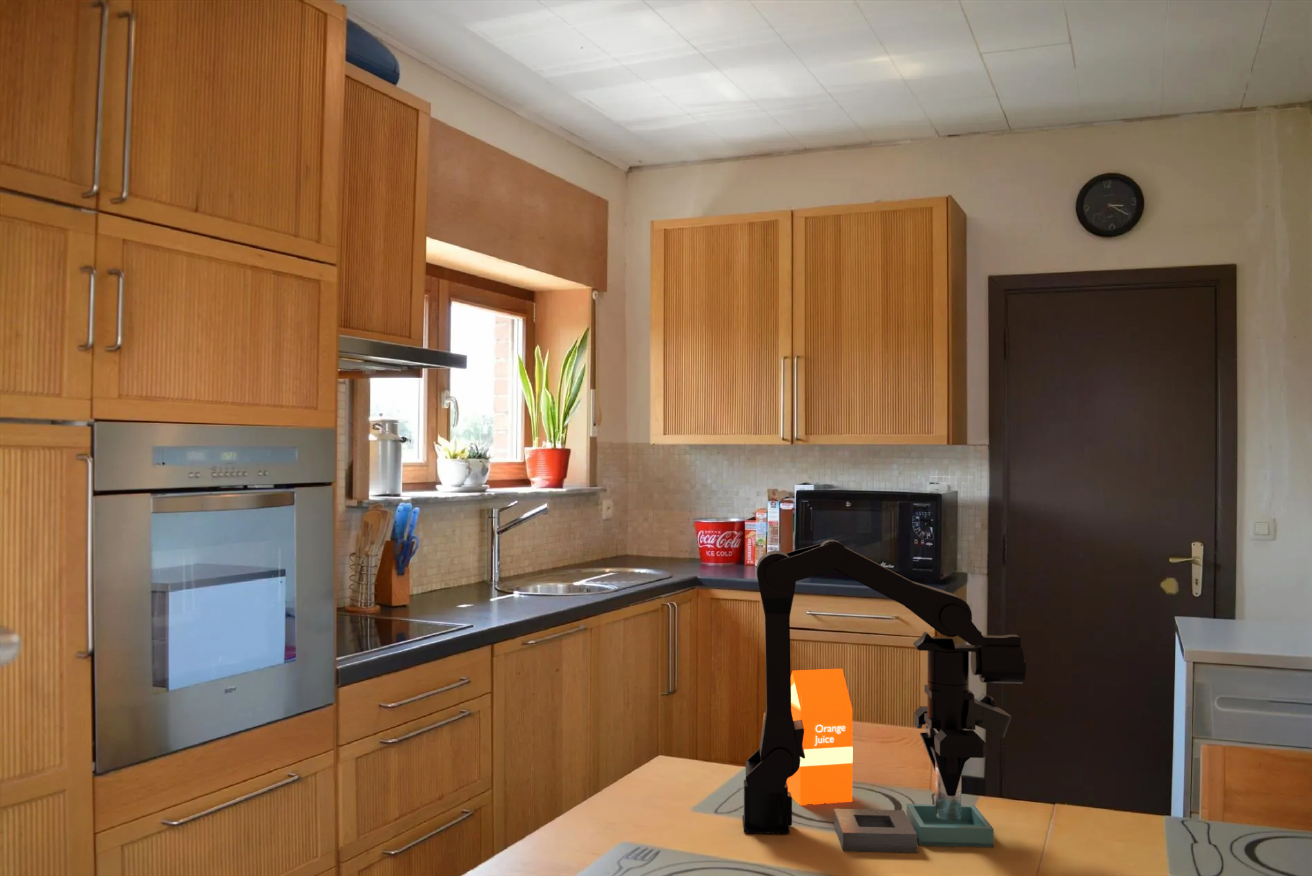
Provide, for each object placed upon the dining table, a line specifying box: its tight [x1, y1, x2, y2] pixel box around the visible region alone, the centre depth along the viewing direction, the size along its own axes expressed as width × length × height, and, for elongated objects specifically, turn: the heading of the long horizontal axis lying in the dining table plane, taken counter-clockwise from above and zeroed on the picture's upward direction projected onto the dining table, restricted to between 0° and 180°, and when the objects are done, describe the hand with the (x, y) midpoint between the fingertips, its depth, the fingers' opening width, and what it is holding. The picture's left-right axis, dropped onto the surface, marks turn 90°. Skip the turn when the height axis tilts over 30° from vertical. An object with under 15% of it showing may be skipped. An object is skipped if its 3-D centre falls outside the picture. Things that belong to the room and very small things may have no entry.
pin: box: [934, 762, 962, 820], centre depth 149 cm, size 4×4×8 cm
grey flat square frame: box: [833, 808, 918, 854], centre depth 147 cm, size 10×10×2 cm
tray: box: [906, 803, 995, 848], centre depth 149 cm, size 10×10×2 cm
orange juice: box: [787, 668, 854, 806], centre depth 166 cm, size 8×9×20 cm
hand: (947, 791), depth 149 cm, fingers closed on pin, 4 cm apart
